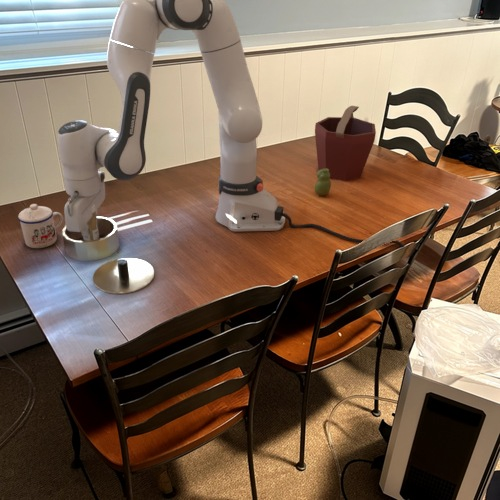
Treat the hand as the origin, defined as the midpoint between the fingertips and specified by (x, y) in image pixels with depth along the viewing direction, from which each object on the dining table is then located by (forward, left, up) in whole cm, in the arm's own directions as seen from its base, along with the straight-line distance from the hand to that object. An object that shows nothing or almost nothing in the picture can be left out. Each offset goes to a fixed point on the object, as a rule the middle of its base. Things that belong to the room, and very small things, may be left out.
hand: (90, 229), depth 136 cm
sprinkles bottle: (0, 0, -6) cm, 6 cm away
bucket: (-76, -67, -6) cm, 102 cm away
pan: (0, 0, -6) cm, 6 cm away
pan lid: (-13, +13, -6) cm, 19 cm away
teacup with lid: (+15, -3, -6) cm, 17 cm away
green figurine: (-67, -45, -6) cm, 81 cm away
